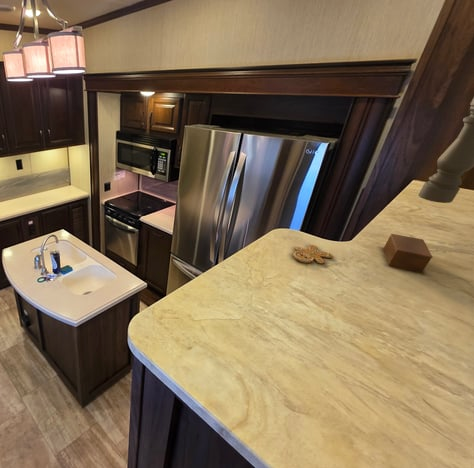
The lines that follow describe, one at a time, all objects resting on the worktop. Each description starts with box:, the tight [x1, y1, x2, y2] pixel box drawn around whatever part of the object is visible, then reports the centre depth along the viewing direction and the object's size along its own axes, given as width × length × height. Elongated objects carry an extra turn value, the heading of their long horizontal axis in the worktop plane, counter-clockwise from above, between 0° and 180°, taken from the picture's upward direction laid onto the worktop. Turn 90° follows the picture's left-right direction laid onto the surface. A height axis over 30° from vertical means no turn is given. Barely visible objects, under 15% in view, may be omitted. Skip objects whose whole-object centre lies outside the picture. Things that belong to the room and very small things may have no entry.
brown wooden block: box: [383, 233, 433, 274], centre depth 76 cm, size 6×9×5 cm
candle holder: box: [418, 97, 474, 204], centre depth 67 cm, size 6×6×25 cm
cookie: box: [292, 244, 334, 264], centre depth 80 cm, size 8×1×10 cm
